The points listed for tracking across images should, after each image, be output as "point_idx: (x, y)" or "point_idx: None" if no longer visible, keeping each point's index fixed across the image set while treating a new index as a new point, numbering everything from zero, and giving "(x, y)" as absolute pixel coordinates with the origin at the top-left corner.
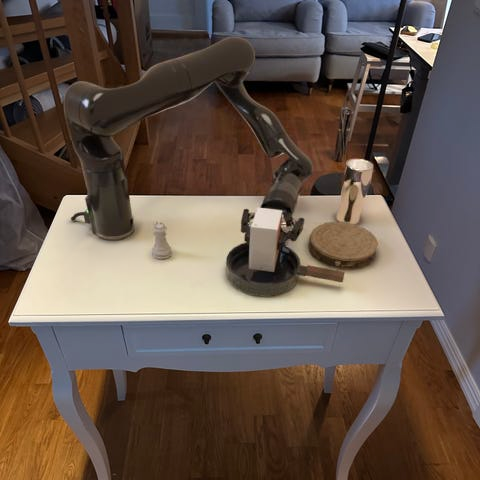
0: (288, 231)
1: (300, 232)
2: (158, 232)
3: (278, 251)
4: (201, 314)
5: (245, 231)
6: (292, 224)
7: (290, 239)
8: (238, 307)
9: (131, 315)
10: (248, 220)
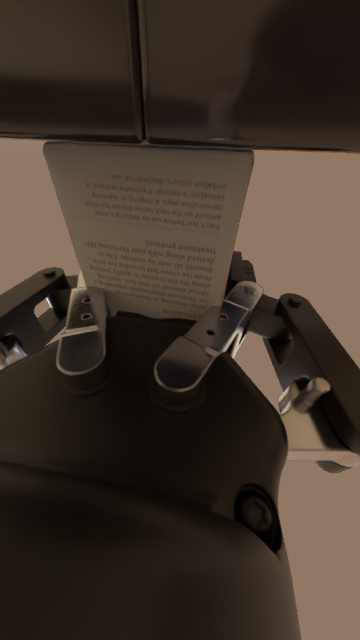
0: (252, 328)
1: (347, 365)
2: None
3: (248, 179)
4: None
5: (76, 277)
6: (282, 413)
7: (279, 299)
8: None
9: None
10: (11, 337)
